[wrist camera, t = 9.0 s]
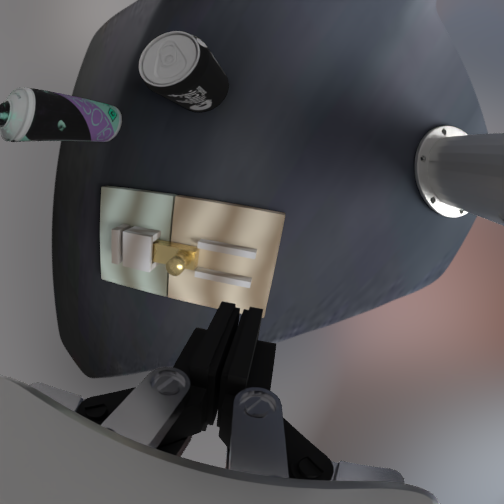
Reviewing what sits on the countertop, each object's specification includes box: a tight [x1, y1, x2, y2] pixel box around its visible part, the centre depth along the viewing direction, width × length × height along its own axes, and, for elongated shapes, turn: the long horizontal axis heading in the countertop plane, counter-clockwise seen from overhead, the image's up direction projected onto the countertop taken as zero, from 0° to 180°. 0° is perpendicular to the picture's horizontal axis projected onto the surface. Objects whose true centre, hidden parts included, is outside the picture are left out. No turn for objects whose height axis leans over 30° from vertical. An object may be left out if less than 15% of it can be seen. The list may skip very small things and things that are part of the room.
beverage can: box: [139, 31, 229, 112], centre depth 24 cm, size 7×7×12 cm
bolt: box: [152, 239, 199, 276], centre depth 32 cm, size 10×2×5 cm, turn 80°
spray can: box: [0, 88, 122, 142], centre depth 22 cm, size 6×6×20 cm
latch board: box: [100, 186, 285, 318], centre depth 34 cm, size 25×14×5 cm, turn 80°
